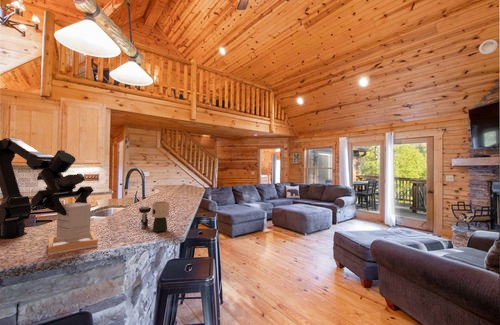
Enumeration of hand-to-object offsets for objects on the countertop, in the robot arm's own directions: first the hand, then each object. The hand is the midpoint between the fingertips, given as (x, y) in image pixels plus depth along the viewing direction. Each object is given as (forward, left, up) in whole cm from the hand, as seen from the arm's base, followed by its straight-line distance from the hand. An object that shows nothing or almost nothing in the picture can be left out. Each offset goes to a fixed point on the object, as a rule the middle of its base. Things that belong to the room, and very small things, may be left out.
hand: (76, 212), depth 82 cm
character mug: (+25, +17, -12) cm, 33 cm away
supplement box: (-1, +1, -10) cm, 10 cm away
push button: (+16, +23, -12) cm, 31 cm away
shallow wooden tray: (-1, 0, -12) cm, 12 cm away
